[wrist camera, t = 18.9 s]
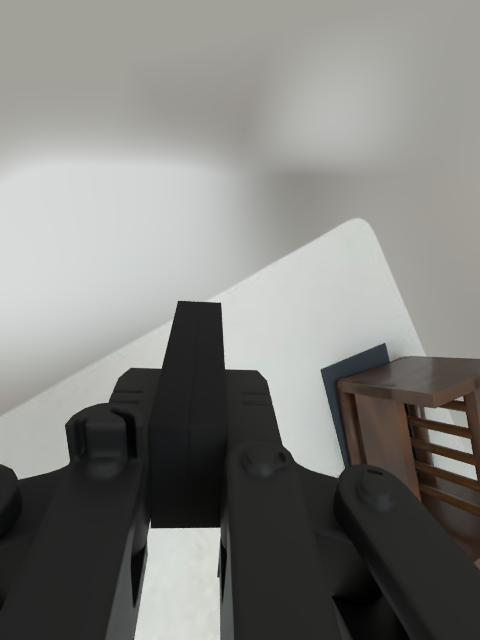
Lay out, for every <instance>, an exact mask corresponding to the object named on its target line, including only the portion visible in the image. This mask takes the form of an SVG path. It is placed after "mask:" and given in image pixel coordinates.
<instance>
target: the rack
mask: <svg viewBox="0 0 480 640" xmlns="http://www.w3.org/2000/svg"><path fill="white" fill-rule="evenodd" d="M337 392H338V397H339V403H340V408H341V414H342V419H343V424H344V430H345V435H346V441H347V446H348V452H349V457H350V463H351V466H352V465H358V464H368V465H372V466H376V467H380V468H382V469H384V470H386V471H388V472H390V473H392V474H394V475H395V476H396V477H397V478H398V479H400V480H401V481H402V482H403V483H404V484H405V485H406V486H407V487H408V488H409V489H410V490H411V492H412V493H413V494H414V495H415V496H416V497H417V498H418V500H419V501H420V502H421V503H422V504H423V505H424V506H425V508H426V509H427V510H428V511H429V512H430V513H431V514H432V516H433V517H434V518H435V519H436V520H437V521H438V523H439V524H440V525H441V526H442V527H443V528H444V529H445V531H446V532H447V533H448V534H449V535H450V536H451V537H452V539H453V540H454V541H455V542H456V543H457V544H458V545H459V547H460V548H461V549H462V550H463V551H464V552H465V553H466V555H467V556H468V557H469V558H470V559H471V560H472V562H473V563H474V564H475V565H476V566H477V567H478V568H479V570H480V359H465V358H443V357H442V358H441V357H420V356H409V357H403V358H402V359H400V360H397V361H394V362H392V363H389V364H386V365H383V366H380V367H377V368H374V369H371V370H368V371H365V372H362V373H359V374H356V375H353V376H350V377H347V378H341V379H339V380H338V382H337ZM461 396H463V398H464V402H463V401H457V400H456V401H455V399H457V398H459V397H461ZM404 403H407V409H408V415H406V413H405V407H404ZM424 407H429V408H437V407H440V408H446V409H451V410H457V411H463V412H466V415H467V421H468V427H469V428H465V427H460V426H456V425H451V424H446V423H442V422H437V421H432V420H428V419H426V418H425V412H424ZM408 424H410V426H411V432H412V437H413V438H411V437H410V435H409V430H408ZM428 429H431V430H435V431H439V432H444V433H448V434H452V435H456V436H460V437H465V438H469V439H471V444H472V450H473V455H472V454H469V453H465V452H462V451H458V450H454V449H451V448H447V447H443V446H440V445H436V444H433V443H430V441H429V435H428ZM412 447H414V449H415V454H416V460H414V458H413V452H412ZM432 453H435V454H438V455H441V456H445V457H448V458H451V459H454V460H458V461H461V462H464V463H468V464H471V465H475V467H476V474H477V480H478V481H476V480H473V479H470V478H467V477H464V476H461V475H458V474H455V473H452V472H449V471H446V470H443V469H440V468H437V467H435V466H434V464H433V458H432ZM416 470H418V471H419V477H420V481H418V480H417V475H416Z"/></svg>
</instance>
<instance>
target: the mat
mask: <svg viewBox="0 0 480 640" xmlns="http://www.w3.org/2000/svg"><path fill="white" fill-rule="evenodd" d="M389 363H390V361H389V357H388V353H387V348H386V344H385V343H384V344H382V345H379V346H377V347H374V348H372V349H370V350H367V351H365V352H362V353H360V354H358V355H355V356H353V357H350V358H348V359H346V360H343V361H341V362H338V363H336V364H333V365H331V366H329V367H326V368H324V369H321V373H322V377H323V381H324V385H325V389H326V393H327V397H328V401H329V405H330V409H331V413H332V417H333V421H334V425H335V429H336V433H337V437H338V440H339V444H340V448H341V452H342V456H343V460H344V464H345V468H348V467H350V466H351V463H350V457H349V452H348V446H347V441H346V435H345V430H344V424H343V419H342V414H341V408H340V403H339V397H338V392H337V382H338V380H339V379H341V378H347V377H350V376H353V375H356V374H359V373H362V372H365V371H368V370H371V369H374V368H377V367H380V366H383V365H386V364H389ZM416 475H417V474H416ZM417 480H418V479H417Z"/></svg>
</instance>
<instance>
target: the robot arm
mask: <svg viewBox="0 0 480 640" xmlns="http://www.w3.org/2000/svg"><path fill="white" fill-rule="evenodd" d="M65 428H66V435H67V442H68V449H69V456H70V463H69V465H67V466H65V467H63V468H61V469H59V470H56V471H52V472H49V473H46V474H42V475H37V476H33V477H29V478H25V479H20V480H18V478H17V476H16V475H15V473H14V471H13V470H12V469H11V468H8V467H6V466H4V465H2V464H0V640H134V636H135V630H136V624H137V618H138V612H139V605H140V599H141V593H142V587H143V581H144V574H145V568H146V562H147V556H148V552H147V535H148V529H149V524H150V518H151V528H220V527H221V539H220V551H219V564H218V576H217V577H220V640H480V570H479V568H478V567H477V566H476V565H475V564H474V563H473V562H472V560H471V559H470V558H469V557H468V556H467V555H466V553H465V552H464V551H463V550H462V549H461V548H460V547H459V545H458V544H457V543H456V542H455V541H454V540H453V539H452V537H451V536H450V535H449V534H448V533H447V532H446V531H445V529H444V528H443V527H442V526H441V525H440V524H439V523H438V521H437V520H436V519H435V518H434V517H433V516H432V514H431V513H430V512H429V511H428V510H427V509H426V508H425V506H424V505H423V504H422V503H421V502H420V501H419V500H418V498H417V497H416V496H415V495H414V494H413V493H412V492H411V490H410V489H409V488H408V487H407V486H406V485H405V484H404V483H403V482H402V481H401V480H400V479H398V478H397V477H396V476H395V475H394V474H392V473H390V472H388V471H386V470H384V469H382V468H380V467H376V466H372V465H368V464H358V465H352V466H350V467H348V468H346V469H344V471H343V472H342V473H341V475H340V476H339V478H335V477H331V476H328V475H324V474H320V473H317V472H314V471H311V470H308V469H306V468H304V467H302V466H301V465H299V464H297V463H296V462H295V461H294V459H293V457H292V455H291V453H290V452H289V451H288V450H287V449H286V448H285V447H283V445H282V441H281V437H280V433H279V429H278V425H277V420H276V416H275V412H274V408H273V405H272V400H271V396H270V392H269V387H268V383H267V380H266V379H265V378H264V377H263V376H262V375H261V374H260V373H259V372H258V371H257V370H226V369H225V363H224V345H223V328H222V310H221V303H213V302H191V301H178V304H177V308H176V313H175V316H174V320H173V324H172V328H171V333H170V337H169V341H168V345H167V349H166V353H165V358H164V362H163V366H162V369H148V368H130V369H129V370H128V371H126V372H125V373H124V374H123V375H122V376H120V377H119V378H118V381H117V383H116V385H115V388H114V390H113V393H112V395H111V397H110V399H109V403H101V404H97V405H94V406H90V407H87V408H85V409H83V410H81V411H80V412H78V413H76V414H75V415H73V416H72V417H71V418H70V420H69V421H68V422H67V423H66V424H65Z"/></svg>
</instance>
